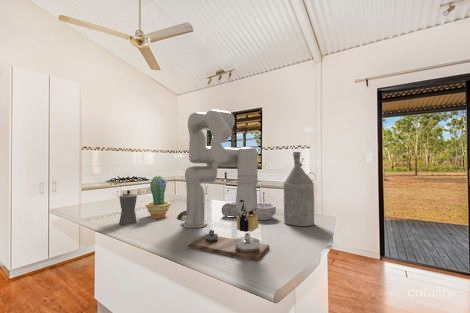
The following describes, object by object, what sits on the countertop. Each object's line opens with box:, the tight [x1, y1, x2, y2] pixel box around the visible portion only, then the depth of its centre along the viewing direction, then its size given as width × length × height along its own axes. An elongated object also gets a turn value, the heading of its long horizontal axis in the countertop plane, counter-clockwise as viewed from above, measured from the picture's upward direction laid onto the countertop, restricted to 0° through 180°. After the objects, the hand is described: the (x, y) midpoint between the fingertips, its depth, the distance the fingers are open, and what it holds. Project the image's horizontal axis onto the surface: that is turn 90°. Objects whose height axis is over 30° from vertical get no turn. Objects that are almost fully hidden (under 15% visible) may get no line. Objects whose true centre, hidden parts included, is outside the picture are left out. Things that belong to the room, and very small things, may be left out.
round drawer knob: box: [205, 229, 218, 242], centre depth 95 cm, size 5×5×4 cm
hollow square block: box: [236, 214, 259, 232], centre depth 86 cm, size 6×6×4 cm
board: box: [188, 234, 270, 263], centre depth 91 cm, size 29×13×2 cm, turn 63°
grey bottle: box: [283, 151, 317, 227], centre depth 128 cm, size 13×17×40 cm
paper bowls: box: [255, 202, 277, 221], centre depth 139 cm, size 15×15×8 cm
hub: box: [235, 232, 260, 254], centre depth 86 cm, size 9×9×6 cm
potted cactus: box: [144, 175, 172, 219], centre depth 144 cm, size 15×15×25 cm
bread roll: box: [176, 209, 187, 221], centre depth 140 cm, size 13×12×5 cm
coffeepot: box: [118, 189, 138, 226], centre depth 129 cm, size 15×9×18 cm, turn 44°
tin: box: [221, 202, 245, 217], centre depth 141 cm, size 15×3×8 cm, turn 74°
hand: (247, 228), depth 86 cm, fingers closed on hollow square block, 5 cm apart
